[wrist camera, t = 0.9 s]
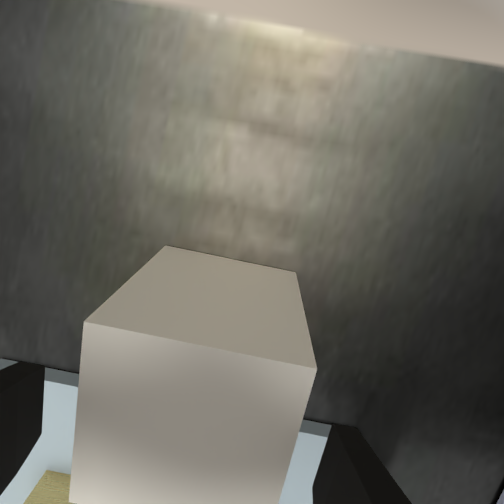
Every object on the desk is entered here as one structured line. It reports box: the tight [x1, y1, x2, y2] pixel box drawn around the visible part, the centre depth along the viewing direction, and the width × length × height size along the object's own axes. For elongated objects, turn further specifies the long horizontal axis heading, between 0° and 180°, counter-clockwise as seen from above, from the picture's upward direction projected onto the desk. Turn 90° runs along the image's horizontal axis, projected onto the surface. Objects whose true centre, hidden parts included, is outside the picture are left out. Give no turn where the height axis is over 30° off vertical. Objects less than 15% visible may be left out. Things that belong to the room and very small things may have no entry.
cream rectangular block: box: [69, 245, 317, 504], centre depth 12 cm, size 5×5×7 cm
